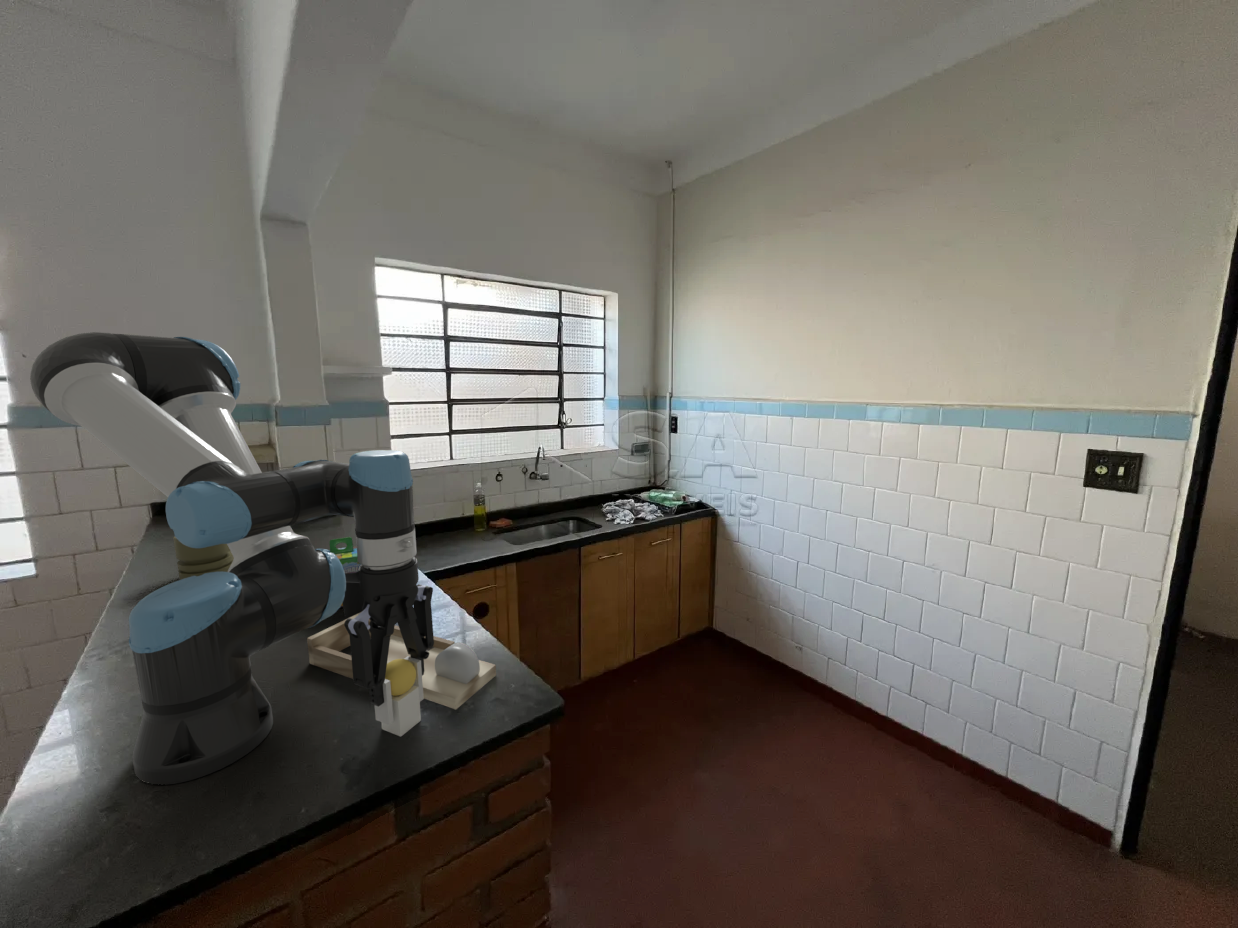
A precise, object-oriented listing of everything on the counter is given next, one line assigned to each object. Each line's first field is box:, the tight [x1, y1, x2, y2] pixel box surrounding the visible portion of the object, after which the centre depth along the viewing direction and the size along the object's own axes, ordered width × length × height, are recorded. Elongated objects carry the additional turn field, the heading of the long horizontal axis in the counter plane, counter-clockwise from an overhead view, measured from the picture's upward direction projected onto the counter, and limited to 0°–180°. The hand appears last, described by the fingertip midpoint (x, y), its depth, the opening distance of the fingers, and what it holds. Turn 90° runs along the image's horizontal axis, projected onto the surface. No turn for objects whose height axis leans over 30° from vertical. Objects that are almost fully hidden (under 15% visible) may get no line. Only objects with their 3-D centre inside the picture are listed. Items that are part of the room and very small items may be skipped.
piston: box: [173, 536, 234, 580], centre depth 129 cm, size 11×12×11 cm
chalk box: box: [328, 536, 361, 609], centre depth 114 cm, size 9×9×15 cm
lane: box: [306, 612, 497, 710], centre depth 88 cm, size 12×33×5 cm, turn 66°
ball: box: [385, 659, 416, 696], centre depth 73 cm, size 5×5×5 cm
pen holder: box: [342, 571, 364, 620], centre depth 106 cm, size 9×9×10 cm
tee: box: [380, 685, 422, 737], centre depth 73 cm, size 4×4×6 cm
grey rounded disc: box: [435, 642, 480, 684], centre depth 83 cm, size 3×7×7 cm, turn 66°
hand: (400, 708), depth 73 cm, fingers closed on ball, 5 cm apart
